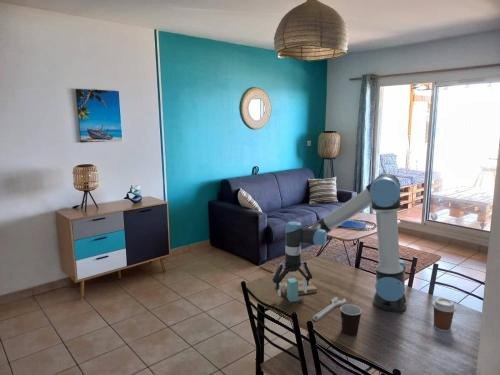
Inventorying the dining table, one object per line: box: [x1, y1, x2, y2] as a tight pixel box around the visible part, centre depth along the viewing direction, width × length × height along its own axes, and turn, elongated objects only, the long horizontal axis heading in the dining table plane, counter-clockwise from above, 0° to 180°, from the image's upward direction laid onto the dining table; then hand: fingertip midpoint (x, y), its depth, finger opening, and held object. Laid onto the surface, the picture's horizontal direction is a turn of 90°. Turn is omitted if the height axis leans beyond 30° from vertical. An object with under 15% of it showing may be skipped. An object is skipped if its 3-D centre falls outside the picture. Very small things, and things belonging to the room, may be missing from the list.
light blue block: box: [285, 277, 299, 303], centre depth 184 cm, size 11×4×10 cm, turn 15°
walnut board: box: [280, 279, 318, 297], centre depth 193 cm, size 12×18×2 cm, turn 104°
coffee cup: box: [431, 297, 457, 332], centre depth 156 cm, size 9×9×12 cm
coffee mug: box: [339, 304, 363, 337], centre depth 155 cm, size 12×9×10 cm
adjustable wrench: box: [312, 296, 347, 322], centre depth 173 cm, size 25×6×2 cm, turn 133°
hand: (292, 293), depth 182 cm, fingers open, 13 cm apart
